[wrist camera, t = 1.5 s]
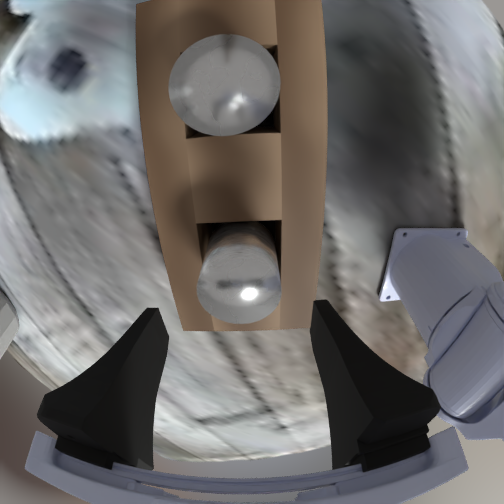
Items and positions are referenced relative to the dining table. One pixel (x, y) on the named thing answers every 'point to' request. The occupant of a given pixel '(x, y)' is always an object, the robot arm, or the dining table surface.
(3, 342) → the jar
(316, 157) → the walnut frame
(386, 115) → the dining table surface
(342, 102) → the dining table surface
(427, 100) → the dining table surface
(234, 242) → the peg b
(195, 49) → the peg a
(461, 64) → the dining table surface
